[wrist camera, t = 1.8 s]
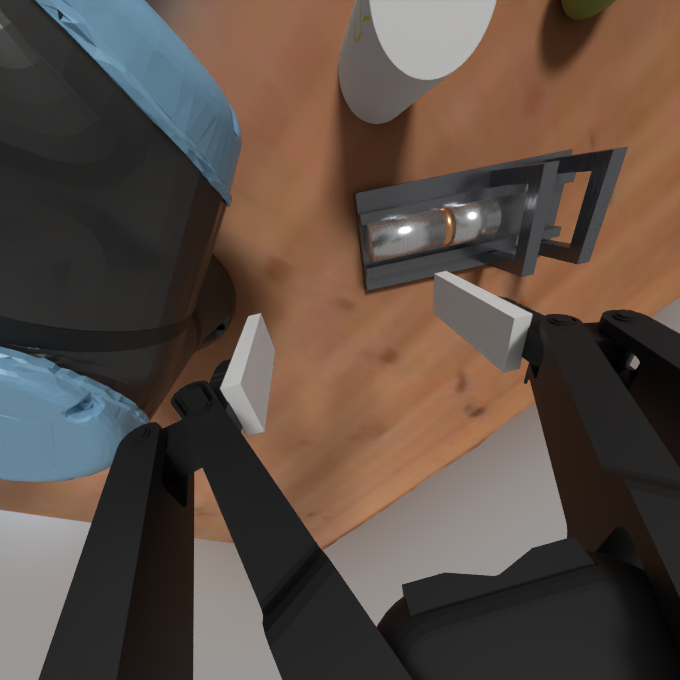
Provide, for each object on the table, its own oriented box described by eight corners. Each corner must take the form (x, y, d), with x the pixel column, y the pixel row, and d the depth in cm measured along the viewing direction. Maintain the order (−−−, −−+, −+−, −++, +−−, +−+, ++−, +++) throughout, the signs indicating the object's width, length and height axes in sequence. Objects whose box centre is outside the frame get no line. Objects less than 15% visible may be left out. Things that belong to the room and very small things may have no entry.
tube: (368, 263, 33) (376, 261, 28) (362, 227, 32) (370, 220, 27) (478, 239, 33) (502, 234, 29) (476, 204, 32) (500, 192, 28)
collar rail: (365, 288, 36) (383, 311, 29) (353, 193, 30) (372, 192, 23) (541, 249, 37) (601, 262, 30) (565, 150, 31) (647, 136, 24)
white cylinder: (384, -20, 22) (460, -206, 12) (432, 75, 26) (522, -4, 16) (321, 66, 24) (339, -29, 14) (374, 143, 28) (419, 112, 18)
